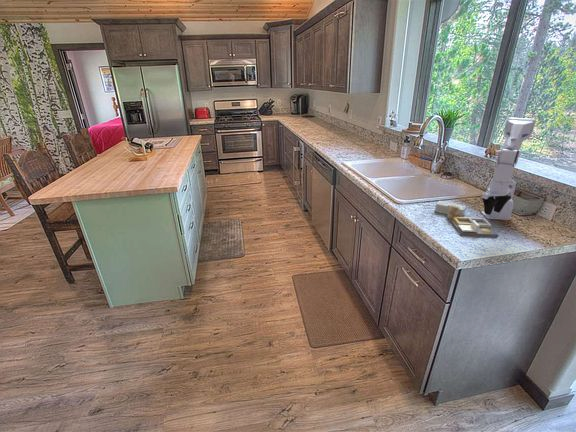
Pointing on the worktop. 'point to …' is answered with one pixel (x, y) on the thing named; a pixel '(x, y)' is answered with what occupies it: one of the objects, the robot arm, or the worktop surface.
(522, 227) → the worktop surface
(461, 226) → the cover
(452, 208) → the beige small block
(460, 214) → the skincare box
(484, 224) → the board
